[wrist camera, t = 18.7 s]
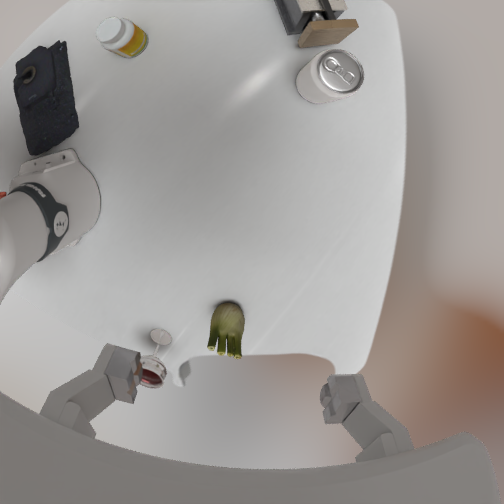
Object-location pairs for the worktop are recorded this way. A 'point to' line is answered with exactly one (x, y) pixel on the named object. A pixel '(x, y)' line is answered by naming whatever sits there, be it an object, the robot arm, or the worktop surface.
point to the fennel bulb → (227, 330)
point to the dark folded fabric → (45, 97)
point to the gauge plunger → (326, 28)
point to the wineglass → (155, 362)
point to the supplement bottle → (121, 37)
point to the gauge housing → (304, 12)
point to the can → (330, 77)
